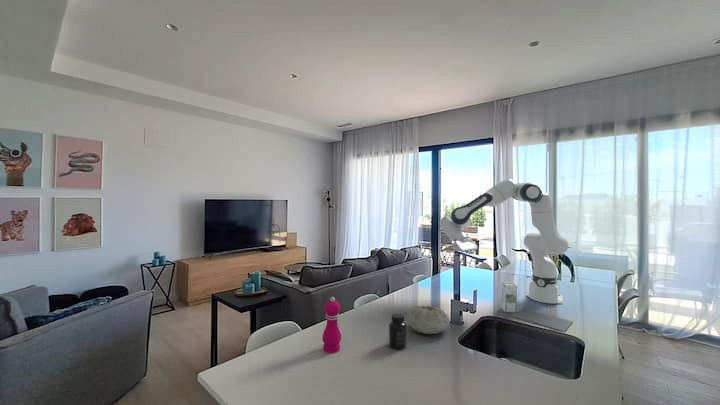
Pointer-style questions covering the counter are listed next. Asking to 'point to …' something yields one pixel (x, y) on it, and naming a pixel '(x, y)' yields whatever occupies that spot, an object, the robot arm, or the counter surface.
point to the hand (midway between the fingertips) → (474, 257)
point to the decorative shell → (428, 319)
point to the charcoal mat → (543, 319)
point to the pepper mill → (331, 327)
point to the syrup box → (509, 297)
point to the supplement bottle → (397, 332)
